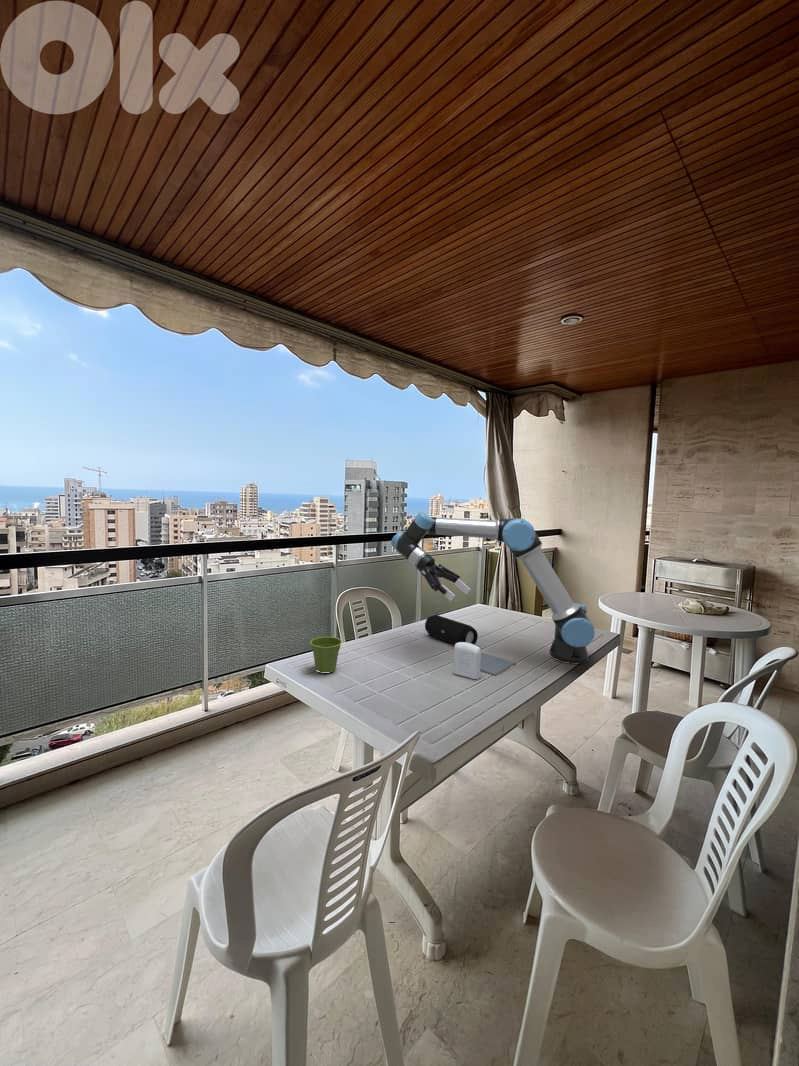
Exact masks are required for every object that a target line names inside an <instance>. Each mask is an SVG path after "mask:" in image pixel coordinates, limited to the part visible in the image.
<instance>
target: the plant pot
mask: <svg viewBox="0 0 799 1066" xmlns="http://www.w3.org/2000/svg"><path fill="white" fill-rule="evenodd" d="M342 643H343V640H342V639H340V638H338V637H335V636H320V637H316V638H313V639H311V640H310V641H309V644H310V646H311V650H312V653H313V660H314V667H315V671H316V670H318V671H320V672H331V671H334V670H335V671H336V668H337V663H338V658H339V657H338V656H339V651H340V649H341V645H342ZM335 671H334V672H335Z"/></svg>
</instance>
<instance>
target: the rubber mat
mask: <svg viewBox="0 0 799 1066" xmlns="http://www.w3.org/2000/svg"><path fill="white" fill-rule="evenodd" d="M515 664H516V665H517V662H515V661H511V660H509V659H505V658H502V657H498V656H494V655H491V654H488V653H484V652H482V651H481V663H480V672H481V671H482V672H481V673H484V672H485V673H484V674H487V673H488V674H487V675H490V674H491V675H490V676H493V675H494V676H493V677H497V676H498V674H499V673H500V674H502V673H503V671H504V672H506V671H507V670H509V669H510V667H511V666H513V665H514V666H516V665H515ZM514 666H513V667H514ZM508 668H509V669H508ZM511 668H512V667H511ZM506 669H507V670H506ZM505 670H506V671H505ZM501 672H502V673H501ZM500 674H499V675H500ZM496 675H497V676H496Z"/></svg>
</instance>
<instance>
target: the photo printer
mask: <svg viewBox="0 0 799 1066" xmlns="http://www.w3.org/2000/svg"><path fill="white" fill-rule="evenodd" d="M453 649H454V650H453V651H454V652H453V670H452V671H453V672H452V673H453V674H455V675H457V676H460V677H463V678H464V677H465V678H468V679H471V680H475V679H477V680H479V679H480V677H481V671H480V663H481V652H482V650H481V648H480V647H479V646H477V645H476V644H475V645H474V644H471V643H466V642H458V643H456V644H454V648H453Z"/></svg>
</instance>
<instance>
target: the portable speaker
mask: <svg viewBox="0 0 799 1066" xmlns="http://www.w3.org/2000/svg"><path fill="white" fill-rule="evenodd" d="M424 629H425V632H427V633H428V635H430V636H432V637H434V638H437V639H440V640H442V641H445V642H447V643H449V644H452V645H453V644H454V645H455V644H456V643H458V642H466V643H471V644H474V645H476V643H477V641H478V638H479V637H478V635H479V634H478V631H477V629H475V628H474V627H473V626H471V625H469V624H465V623H463V622H459V621H457V620H455V619H454V620H453V619H451V618H447V617H444V616H440V615H438V614H435V615H430V616H428V617H427V618H426V620H425V623H424Z"/></svg>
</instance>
